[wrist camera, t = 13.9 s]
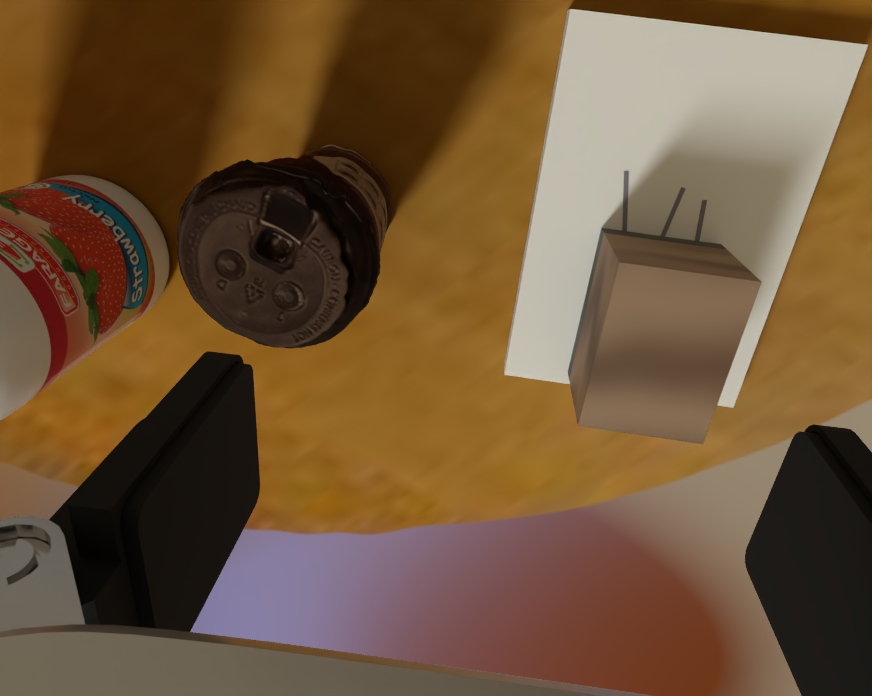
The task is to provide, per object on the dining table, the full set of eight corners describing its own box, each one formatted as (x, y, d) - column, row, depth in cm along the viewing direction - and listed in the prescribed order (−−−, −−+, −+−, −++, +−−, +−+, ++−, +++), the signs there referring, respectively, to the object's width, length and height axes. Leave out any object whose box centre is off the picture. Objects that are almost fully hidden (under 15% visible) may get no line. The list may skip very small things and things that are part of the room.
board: (567, 10, 32) (570, 8, 30) (852, 44, 31) (868, 44, 30) (504, 363, 40) (504, 374, 39) (725, 395, 40) (733, 407, 38)
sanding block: (601, 227, 35) (619, 262, 29) (721, 244, 34) (761, 282, 29) (567, 372, 38) (578, 425, 33) (674, 387, 38) (702, 444, 33)
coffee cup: (379, 99, 34) (314, 127, 23) (436, 240, 37) (405, 328, 26) (242, 159, 36) (119, 213, 25) (307, 287, 39) (224, 389, 28)
